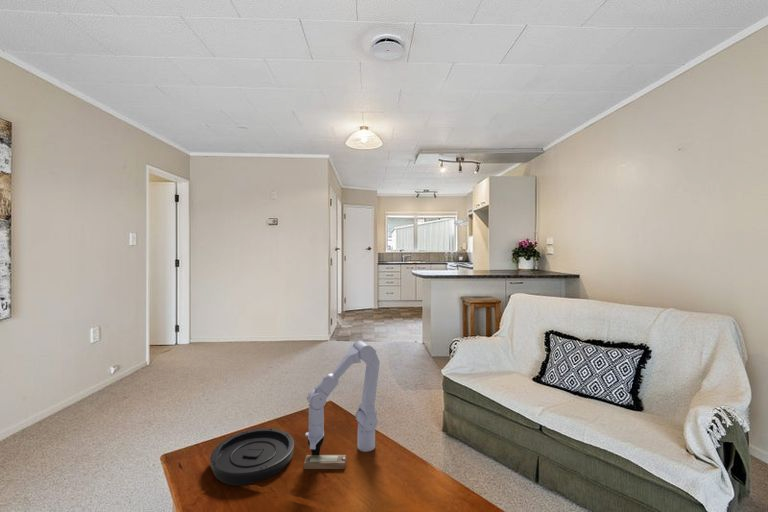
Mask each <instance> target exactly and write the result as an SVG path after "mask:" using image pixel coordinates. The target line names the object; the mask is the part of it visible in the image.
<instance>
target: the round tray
mask: <svg viewBox="0 0 768 512" xmlns="http://www.w3.org/2000/svg"><path fill="white" fill-rule="evenodd" d="M294 448H295V439H294V438H293V436H292V435H291V434H289V433H288V432H286V431H284V430H281V429H277V428H255V429H249V430H245V431H242V432H239V433H237V434H234V435H231V436H229V437H227V438H225V439H224V440H222V441H221V442H219V444H218V445H217V446H216V447H214V449H213V450H212V452H211V454H210V458H209V461H210V468H211V471H212V473H213V475H214V477H215V478H216V479H217V480H218V481H220V482H221V483H222V484H226V485H229V486H235V487H236V486H238V487H241V486H243V487H245V486H250V485H253V483H256V482H259V481H264V480H267V479H269V478H271V477H272V476H275V475H277V474H278V473H279V472H281V471H282V470H283V469H284V468H286V467H287V465H288V464H289V463H290V462H291V460H292V457H293V454H294V450H295V449H294Z"/></svg>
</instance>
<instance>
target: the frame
mask: <svg viewBox="0 0 768 512" xmlns="http://www.w3.org/2000/svg"><path fill="white" fill-rule="evenodd" d="M346 463H347V455H346V454H319V455H312V454H306V457H305V459H304V461H303V470H345V469H346Z"/></svg>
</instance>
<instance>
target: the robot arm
mask: <svg viewBox="0 0 768 512" xmlns="http://www.w3.org/2000/svg"><path fill="white" fill-rule="evenodd" d="M362 361H363V363H364V364H365V366H366V367H365V371H364V372H365V373H364V381H363V390H362V396H361V402H360V403H359V404H358V408H357V410H356V412H355V419H356V421H357V450H359V451H361V452H363V453H365V452H367V453H368V452H372V451H373V450H375V448H376V428H377V426H378V423H379V421H378V418H377V413H378V412H377V410H376V406H375V404H376V403H375V402H376V395H377V389H378V388H377V386H378V378H379V370H380V359H379V357H378V354H377V350H376V349H375V348H374V347H373V346H371V345H369V344H368V343H366V342H365V341H364V340H359V339H358V340H357V341H355V342H354V343H353V345H351V346H350V347H349V348H348V351H347V352H346V354H345V356H344V357H343V358H342V360H341V361H340V362H339V364H337V366H336V367H335V369H334V370H333V371H332V372H331V373H327V374H326V375H324V376H323V377H322V380H321V381H320V383H318V385H317V386H315V387H314V388H313V389H312V390H310V391H309V393H308V394H307V397H306V400H307V402H308V403H309V404H308V431H307V432H305V434H304V435H305V438H308V440H307V444H308V447H309V450H310V451H311V455H321V448H322V447H321V446H322V445H323V443H324V439H325V431H324V430H325V429H324V428H325V427H324V426H325V418H324V417H325V413H324V411H325V410H324V409H325V408H324V407H325V405H326V403H327V399H328V397H329V396H330V395H331V393H332V392H333V391H334V390H335V388H336V387H337V386H338V385H339V379H340V378H341V377H342V376H343V375H344V374H345V373H346V371H347V370H348V369H350V368H351V366H352V365H353V364H360V363H362Z"/></svg>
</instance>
